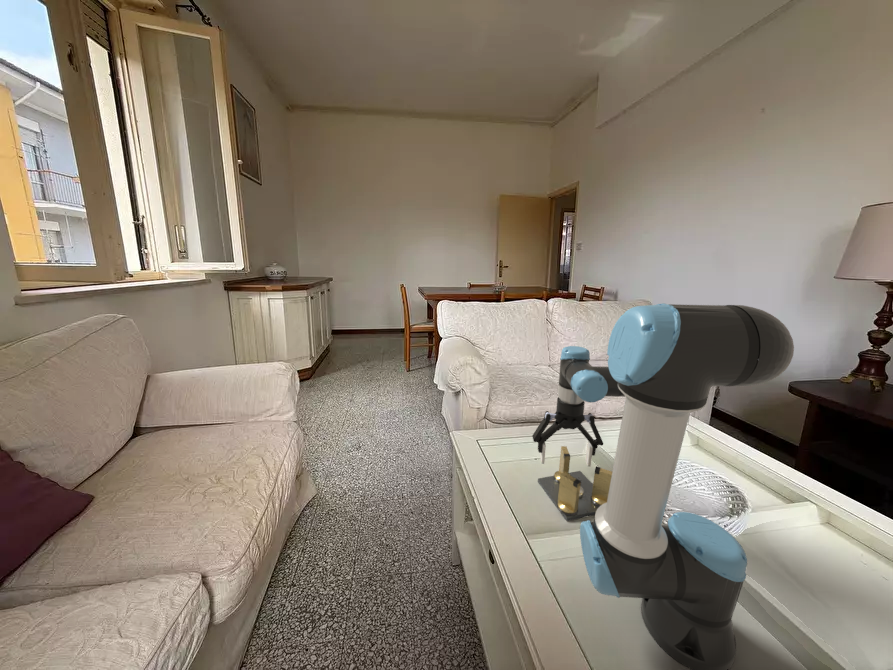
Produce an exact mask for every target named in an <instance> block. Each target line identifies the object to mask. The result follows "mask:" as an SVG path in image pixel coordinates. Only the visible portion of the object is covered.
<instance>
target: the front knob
mask: <svg viewBox="0 0 893 670" xmlns="http://www.w3.org/2000/svg"><path fill="white" fill-rule="evenodd" d="M580 485H581V481H580V480H578V479H575V478H574V477H572V476H570V475H569V474H567V473H565V472H563V473H561V474H560V484H559V494H558V507H559V509H560V510H561V511H563V512H565V513H569V514H572V513H575V512H576V511H577V510H578V502H579V494H580Z"/></svg>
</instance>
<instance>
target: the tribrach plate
mask: <svg viewBox="0 0 893 670" xmlns="http://www.w3.org/2000/svg"><path fill="white" fill-rule="evenodd" d="M569 474H570V475H571V476H572V477H574V478H575V479H578V480H580V481H581V485H580V494H579V502H578V510H577V511H576V512H575V513H572V514H569V513H565V512H563V511H561V510H560V509H559V507H558V494H559V484H560V482H559V481H557V480H556V479H555V477H554V475H550V476H544V477H540V478H537V483H538V485H539V486H540V487H541V488H542V489H543V491H544V492H545V494H546V495H547V497H548V498H549V499H550V501H551V502H552V503H553V505H554V506H555V508H556V509H557V510H558V512H559V513H560V514H561V516H562V517H563V518H564V520H565V521H566V522H569V521H573V520H578V519H582V518H587V517H591V516H595V514H596V511H597V509H598V508H599V507H600V506H601V505H599V504H597V503H595V502H594V501H593V499H592V489H593V482H592V481H590V479H589V478H588V477H586V476H585V473H583V471H581V470H576V471H572V472H569Z"/></svg>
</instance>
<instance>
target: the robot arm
mask: <svg viewBox="0 0 893 670" xmlns="http://www.w3.org/2000/svg"><path fill="white" fill-rule="evenodd" d="M794 350H795V345H794V339H793V337H792V335H791V332H790V331H789V328H788V327H787V326H786V324H784V323H783V322H782V321H781V320H780V319H779V318H777V317H776V316H774V315H773V314H771V313H769V312H767V311H765V310H763V309H760V308H757V307H753V306H748V305H741V304H740V305H739V304H726V305H725V304H724V305H719V304H718V305H717V304H716V305H714V304H712V305H711V304H710V305H709V304H671V303H670V304H667V303H658V304H648V305H637V306H633V307H631V308H629V309H627V310H625V312H624V313H623V314H622V315H620V317H619V318H618V319H617V320H616V322H615V324H614V326H613V328H612V330H611V332H610V336H609V339H608V344H607V352H606V355H607V356H608V359H607V366H593V365H591V364H590V360H591V358H590V354H591V352H590V351H589V349H588V348H586V347H583V346H579V345H578V346H577V345H568V346H565V347H563V348H562V349H561V354H560V358H559V360H560V362H559V376H558V386H557V387H558V388H557V399H556V400H557V401H556V411H555V413H551V412H549V411H548V410H546V411H544V412H545V413H544V416H543V418H542V420H541V422H540V423H539V425H538V426H537V428H536V429H535V431H534V433H532V436H531V437H532V441H533V442H534V443H537V450H538V451H537V452H538V453H540V462H541V464H543V465H545V461H546V446H547V445H546V441H548V440H549V439H550V438H551V437H552V436H553V435H554V434H555V433H556V432H558V431H560V430H561V429H563V430H568V429H569V430H575V429H578V431H579V432H580V433H581V434H582V435H583V437H584V438H585V439H586V440H587V441H588V442H587V443H586V450H585V451H586V453H585V459H584V460H585V464H586V465H587V467H591V465H592V456H594V457H595V456H596V452H597V449H598V446H603V445H604V441H603V439H602V437H601V435H600V432H599V430H598V427H597V425H596V423H595V422H596V419H595V417H594V415H593V413H592V412H589V413H588V414H585V413H584V412H585V402H586V403H596V402H599V401H601V400H602V399H604V398H605V397H613V398H615V397H624V398H625V401H624V406H623V407H624V408H623V411H622V412H623V413H622V416H621V423H620V429H619V433H618V438H617V445H616V452H615V456H614V461H613V467H612V470H611V471H612V477H611V482H610V488H609V493H608V499H607V503H604V504H602V505H601V506H600V507H599V508H598V509H597V511H596V514H595V515H594V520H589V519H587V520H585V521H584V520H583V521H581V523H580V525H579V537H580V544H581V550H582V556H583V560H584V561H583V562H584V565H585V568H586V571H587V574H588V577H589V580H590V581H591V584H592V587H593V588H594V589H595V590H596V591H597V592H598V593H599V594H600V595H604V596H614V597H616V598H617V599H619V598H634V599H641V605H640V612H641V613H640V614H641V617H642V618H641V619H642V620H643V623H644V625H645V627H646V630H647V631H648V633H649V634H650V636H651V637H652V639H653V640H654V641H655V643H656V644H657V645H658V646H660V648H662V650H663V651H664V652H665V653H667V654H668V655H669V656H670V657H671V658H673V659H674V660H676V661H677V662H679V663H680V664H681V665H684V666H685V667H687V668H689V669H692V670H727V669H728V670H729V669H731V667H732V665H733V663H734V661H735V658H736V654H737V640H736V635H735V633H734V628H733V627H734V626H733V621H732V619H733V615H734V612H735V608H736V605H737V603H738V600H739V597H740V593H741V591H742V587H743V584H744V581H745V580H746V577H747V573H746V570H747V567H748V566H747V565H748V556H747V554H746V552H745V550H744V548H743V546H742V545H741V543H740V542H739V541H738V540H737V539H736V538H735V537H734V536H733V535H732V534H731V533H730V532H728V531H727V530H726V529H725V528H724V527H722V526H721V525H719V524H718V523H715V522H713V521H712V520H711V519H709V518H707V517H705V516H702V515H699V514H696V513H692V512H688V511H677V512H674V513H672V516H670V517H669V518H668V520H667V524H663V523H662V520H663V516H664V512H665V508H666V509H667V504H668V500H669V495H670V493H671V488H672V484H673V481H674V477H675V472H676V471H677V470H676V468H677V466H678V461H679V457H680V453H681V450H682V447H683V442H684V438H685V434H686V431H687V426H688V423H689V419H690V415H691V413H695V412H698V411H700V410H703V409H704V408H705V407H706V405H707V402H708V397H709V395H710V390H711V388H713V387H748V386H750V387H751V386H755V385H761V384H765V383H767V382H770V381H772V380H774V379H776V378H778V377H779V376H780V375H782V374H783V373H784V372H785V371H786V370H787V369H788V367H789V366H790V365H791V362H792V359H793V358H794V357H793V356H794ZM553 419H555V420H554V422H553V423H552V424H551V425H550V426H549V424H550V422H552V421H553ZM584 421H586V422H587V423H588V424H589V426H590V428H591V430H592V432H593V434H594V437H595V438H593V437H592V436H591V434H590V433H589V432H588V431H587V429H586V428H585V427H584V426H583V425H582V424H583V422H584ZM548 426H549V427H548ZM547 427H548V428H547ZM663 521H664V520H663ZM661 524H662V525H661Z"/></svg>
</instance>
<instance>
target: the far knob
mask: <svg viewBox="0 0 893 670" xmlns="http://www.w3.org/2000/svg"><path fill="white" fill-rule="evenodd" d="M559 455H560V456H559V465H558V470H557V471H556V472H554V473H553V476H554V477H555V479H556V480H557V481H559V482H560V474H561V473H563V472H565V473H567V474H569V473H570V463H571V462H570V460H571V454H570V452H569V449H568V447H567V446H565V445H564V446H563V445H561V446H560V454H559ZM569 475H570V474H569ZM570 476H571V475H570Z"/></svg>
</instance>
